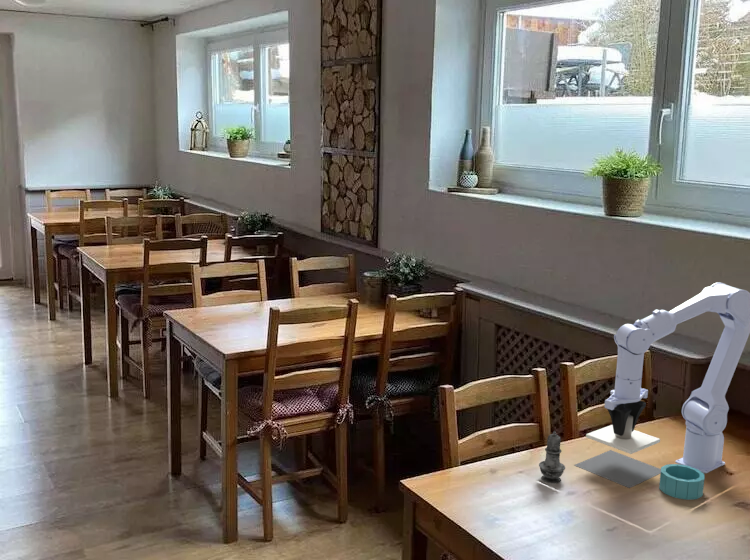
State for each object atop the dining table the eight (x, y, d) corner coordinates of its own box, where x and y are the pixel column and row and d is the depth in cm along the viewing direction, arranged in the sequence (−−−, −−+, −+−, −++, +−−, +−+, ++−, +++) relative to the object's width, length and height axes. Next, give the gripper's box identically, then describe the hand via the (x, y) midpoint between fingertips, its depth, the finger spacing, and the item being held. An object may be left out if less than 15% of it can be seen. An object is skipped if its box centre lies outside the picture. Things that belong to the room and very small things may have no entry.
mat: (610, 451, 198) (610, 450, 198) (665, 472, 187) (665, 470, 187) (573, 466, 189) (573, 465, 189) (629, 489, 178) (629, 487, 178)
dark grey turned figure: (564, 487, 178) (568, 437, 175) (537, 484, 179) (541, 434, 177) (563, 476, 183) (567, 427, 181) (537, 473, 185) (541, 424, 182)
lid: (615, 426, 195) (617, 403, 194) (659, 442, 186) (662, 418, 185) (585, 437, 187) (588, 413, 186) (630, 454, 178) (633, 429, 177)
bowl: (672, 479, 184) (674, 460, 183) (709, 493, 177) (712, 474, 176) (651, 489, 178) (653, 470, 177) (688, 504, 171) (691, 485, 170)
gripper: (631, 366, 191) (626, 420, 194) (595, 377, 182) (590, 433, 184) (657, 374, 186) (652, 429, 188) (622, 386, 177) (617, 443, 179)
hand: (623, 432), depth 186 cm, fingers closed on lid, 4 cm apart
